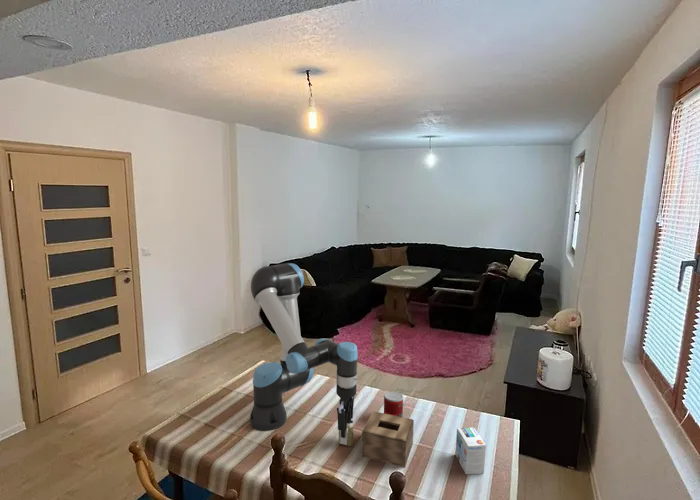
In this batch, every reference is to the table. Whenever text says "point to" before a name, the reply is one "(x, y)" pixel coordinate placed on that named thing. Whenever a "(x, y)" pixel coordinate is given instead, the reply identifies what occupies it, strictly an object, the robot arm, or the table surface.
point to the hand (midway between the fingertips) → (345, 441)
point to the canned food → (393, 404)
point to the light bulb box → (470, 450)
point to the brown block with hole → (387, 438)
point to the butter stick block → (348, 436)
